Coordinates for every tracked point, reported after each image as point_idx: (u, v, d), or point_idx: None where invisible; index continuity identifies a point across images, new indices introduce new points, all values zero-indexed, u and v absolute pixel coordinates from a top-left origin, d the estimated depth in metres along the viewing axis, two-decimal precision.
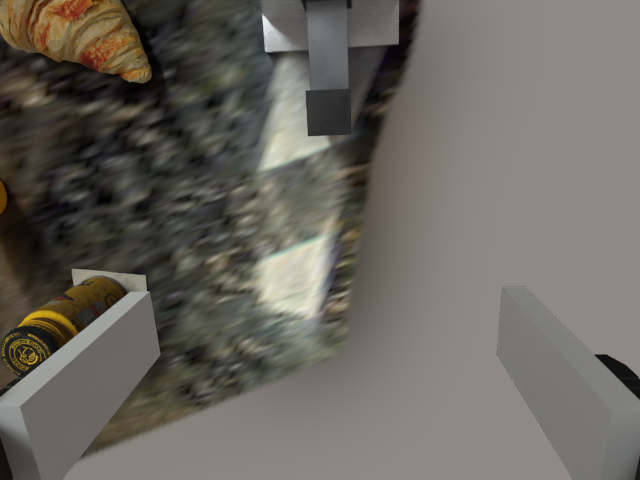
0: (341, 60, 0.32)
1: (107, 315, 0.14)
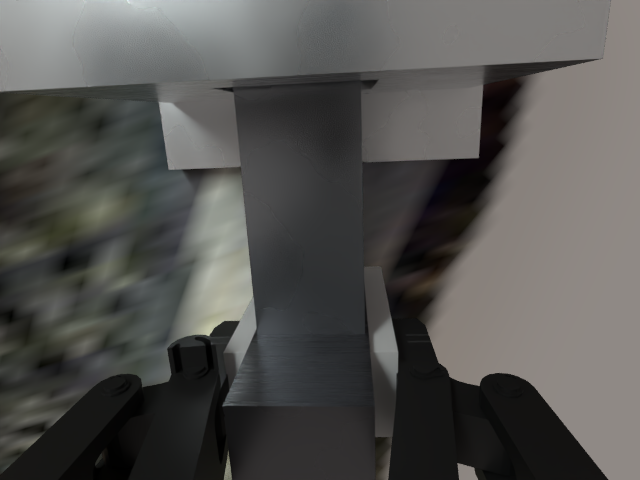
0: (344, 256, 0.11)
1: None
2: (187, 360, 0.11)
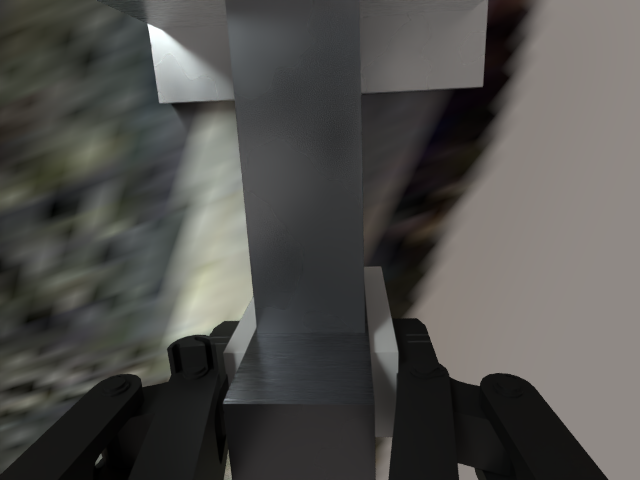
0: (345, 255, 0.11)
1: None
2: (187, 360, 0.11)
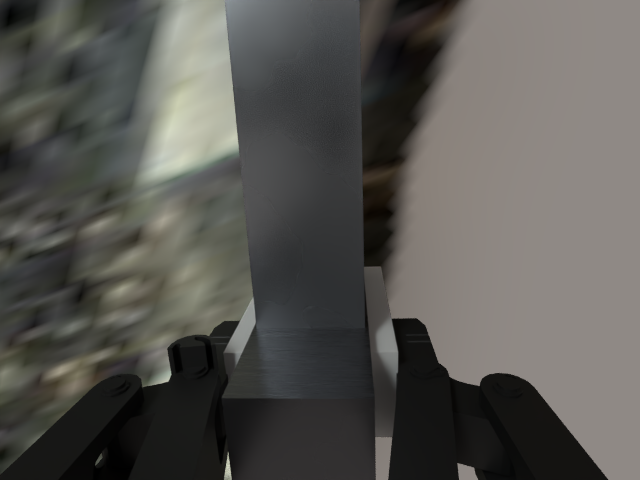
0: (344, 249, 0.11)
1: None
2: (187, 360, 0.11)
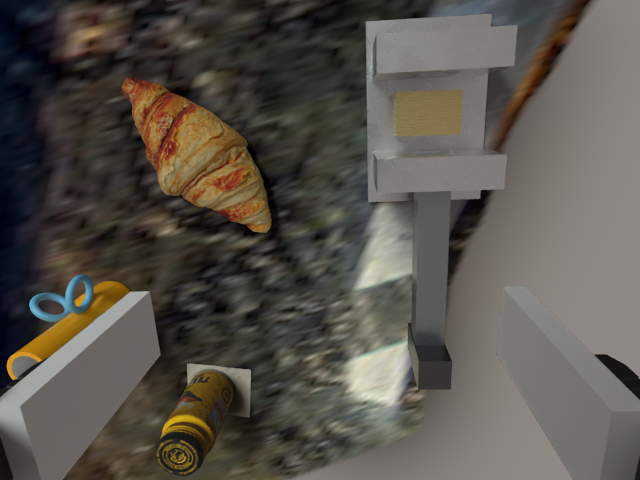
0: (440, 326, 0.43)
1: (107, 315, 0.14)
2: None
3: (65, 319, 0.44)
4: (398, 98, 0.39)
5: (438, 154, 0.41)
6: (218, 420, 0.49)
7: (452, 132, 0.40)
